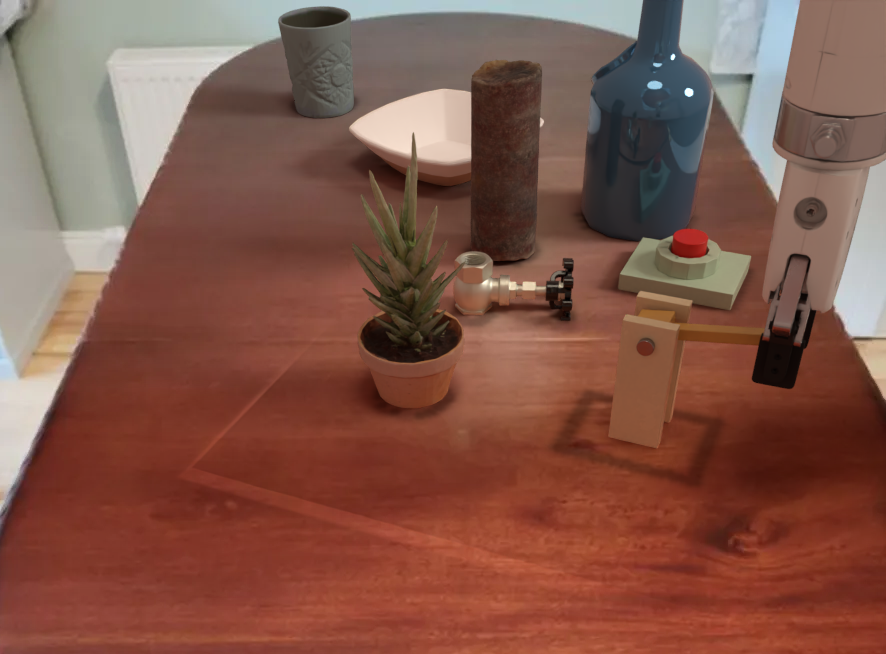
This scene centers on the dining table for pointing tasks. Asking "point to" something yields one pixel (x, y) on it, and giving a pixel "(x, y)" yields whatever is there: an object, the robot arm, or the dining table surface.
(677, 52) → the wine bottle
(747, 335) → the lever
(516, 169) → the brown textured cylinder
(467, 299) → the valve
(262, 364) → the dining table surface
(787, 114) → the robot arm
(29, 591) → the dining table surface
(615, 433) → the bracket
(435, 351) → the potted plant
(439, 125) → the bowl
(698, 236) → the button
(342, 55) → the grey embossed cup
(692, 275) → the button block
